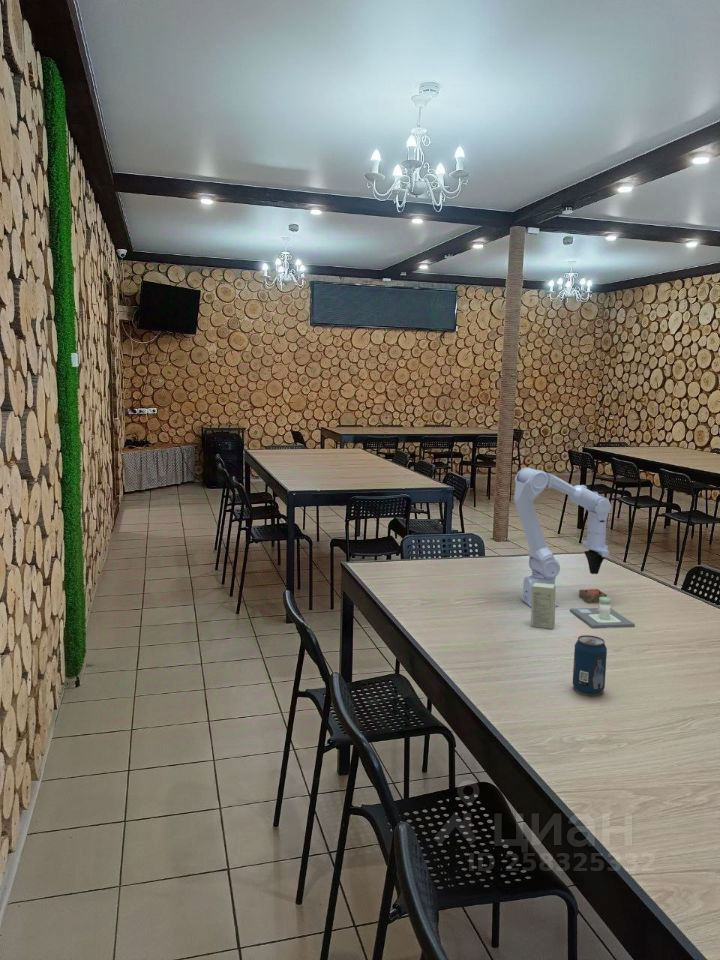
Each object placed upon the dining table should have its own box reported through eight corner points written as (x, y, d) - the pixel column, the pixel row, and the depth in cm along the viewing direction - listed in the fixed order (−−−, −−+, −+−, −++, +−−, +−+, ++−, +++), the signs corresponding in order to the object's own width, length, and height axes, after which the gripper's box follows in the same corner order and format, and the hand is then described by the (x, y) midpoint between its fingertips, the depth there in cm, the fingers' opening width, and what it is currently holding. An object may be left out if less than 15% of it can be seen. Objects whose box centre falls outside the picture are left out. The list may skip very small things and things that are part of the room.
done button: (589, 601, 218) (590, 592, 218) (584, 598, 222) (585, 589, 222) (600, 601, 219) (600, 592, 218) (595, 597, 222) (595, 589, 222)
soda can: (579, 680, 158) (582, 632, 157) (608, 689, 154) (611, 639, 152) (567, 690, 153) (570, 640, 152) (597, 699, 149) (600, 648, 147)
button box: (587, 603, 217) (588, 595, 217) (579, 597, 223) (579, 589, 223) (606, 602, 218) (607, 595, 217) (597, 596, 224) (597, 589, 224)
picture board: (592, 628, 194) (592, 625, 194) (569, 611, 209) (570, 608, 208) (634, 626, 195) (634, 623, 195) (609, 610, 210) (609, 607, 210)
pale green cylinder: (600, 619, 198) (601, 599, 198) (597, 616, 202) (598, 596, 201) (611, 619, 198) (612, 599, 198) (608, 616, 201) (609, 596, 201)
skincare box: (554, 625, 196) (557, 584, 195) (552, 629, 192) (554, 588, 191) (532, 621, 199) (534, 581, 197) (529, 626, 195) (531, 585, 193)
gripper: (619, 537, 211) (616, 579, 213) (597, 527, 225) (595, 567, 227) (598, 537, 210) (595, 579, 212) (577, 528, 224) (575, 567, 226)
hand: (593, 573), depth 219 cm, fingers closed
